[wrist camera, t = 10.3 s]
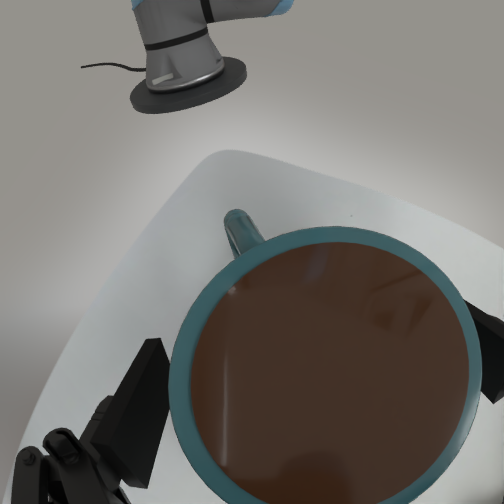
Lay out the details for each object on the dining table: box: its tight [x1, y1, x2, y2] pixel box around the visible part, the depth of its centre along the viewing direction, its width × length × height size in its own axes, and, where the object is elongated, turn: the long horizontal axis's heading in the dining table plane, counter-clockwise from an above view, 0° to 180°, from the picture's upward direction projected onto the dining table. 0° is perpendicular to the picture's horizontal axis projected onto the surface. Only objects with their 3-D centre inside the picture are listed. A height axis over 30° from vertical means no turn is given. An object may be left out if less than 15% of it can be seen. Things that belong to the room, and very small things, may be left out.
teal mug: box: [168, 209, 482, 504], centre depth 10 cm, size 14×14×11 cm
